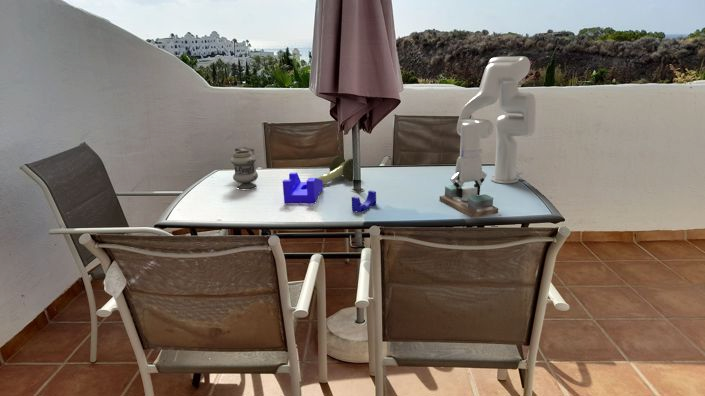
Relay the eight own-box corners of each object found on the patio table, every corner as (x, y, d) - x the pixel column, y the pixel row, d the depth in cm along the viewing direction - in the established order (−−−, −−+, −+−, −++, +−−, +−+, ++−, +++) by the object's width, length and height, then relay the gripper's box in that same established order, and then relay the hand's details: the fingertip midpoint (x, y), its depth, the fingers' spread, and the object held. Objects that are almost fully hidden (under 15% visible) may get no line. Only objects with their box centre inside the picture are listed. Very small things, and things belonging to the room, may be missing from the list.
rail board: (463, 196, 204) (463, 182, 202) (498, 213, 183) (499, 197, 181) (439, 200, 200) (439, 186, 198) (472, 217, 179) (472, 202, 177)
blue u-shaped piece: (360, 213, 189) (359, 199, 187) (352, 211, 192) (351, 197, 190) (379, 205, 197) (378, 192, 195) (370, 203, 200) (370, 190, 198)
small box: (464, 196, 195) (465, 185, 193) (477, 198, 191) (478, 187, 189) (458, 199, 190) (458, 188, 189) (471, 202, 187) (471, 190, 185)
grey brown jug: (237, 178, 248) (234, 148, 243) (248, 175, 252) (245, 146, 247) (246, 181, 242) (243, 150, 237) (257, 178, 246) (254, 148, 241)
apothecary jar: (233, 185, 235) (229, 150, 229) (257, 182, 238) (253, 148, 233) (235, 192, 224) (231, 155, 218) (260, 189, 227) (256, 152, 222)
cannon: (325, 188, 224) (323, 165, 221) (309, 184, 232) (308, 162, 229) (362, 178, 240) (361, 156, 237) (346, 174, 248) (345, 153, 245)
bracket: (315, 204, 203) (313, 181, 199) (284, 204, 204) (282, 181, 201) (323, 190, 223) (321, 169, 219) (295, 190, 224) (293, 169, 221)
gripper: (482, 149, 191) (480, 190, 196) (445, 154, 185) (444, 196, 191) (493, 152, 184) (491, 195, 190) (456, 157, 179) (454, 201, 184)
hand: (468, 195), depth 190 cm, fingers open, 7 cm apart
